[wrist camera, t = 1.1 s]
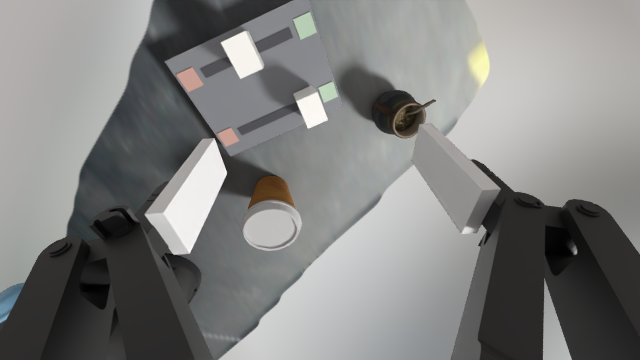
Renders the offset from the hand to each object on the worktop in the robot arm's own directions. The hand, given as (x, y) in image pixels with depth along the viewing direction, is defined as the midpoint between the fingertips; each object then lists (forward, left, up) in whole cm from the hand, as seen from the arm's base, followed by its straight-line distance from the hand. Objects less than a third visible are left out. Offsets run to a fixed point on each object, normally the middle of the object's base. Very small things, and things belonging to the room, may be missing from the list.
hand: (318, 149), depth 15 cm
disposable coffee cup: (-12, -16, -26) cm, 33 cm away
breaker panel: (-4, +2, -25) cm, 26 cm away
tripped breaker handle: (-4, +6, -22) cm, 23 cm away
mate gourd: (+14, -10, -26) cm, 31 cm away
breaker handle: (+1, -3, -22) cm, 22 cm away
